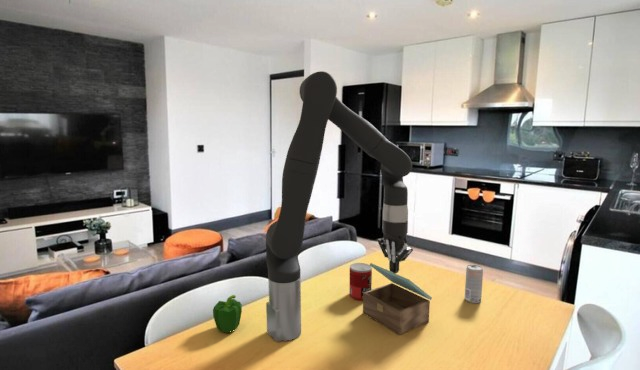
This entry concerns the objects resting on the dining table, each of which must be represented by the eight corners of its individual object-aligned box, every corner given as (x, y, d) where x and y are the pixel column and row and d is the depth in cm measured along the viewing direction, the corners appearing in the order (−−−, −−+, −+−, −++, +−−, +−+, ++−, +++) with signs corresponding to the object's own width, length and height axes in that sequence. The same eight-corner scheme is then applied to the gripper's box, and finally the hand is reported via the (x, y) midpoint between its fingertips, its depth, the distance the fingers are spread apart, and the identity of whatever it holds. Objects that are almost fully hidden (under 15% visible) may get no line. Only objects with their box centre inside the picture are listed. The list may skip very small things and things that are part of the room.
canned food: (364, 302, 127) (365, 272, 125) (345, 296, 131) (345, 267, 130) (375, 295, 133) (375, 265, 131) (356, 289, 138) (356, 261, 136)
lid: (408, 282, 106) (409, 279, 106) (369, 265, 119) (370, 262, 119) (430, 300, 113) (432, 297, 113) (392, 282, 126) (393, 279, 126)
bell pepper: (215, 339, 105) (214, 306, 104) (212, 325, 113) (211, 294, 111) (245, 332, 108) (244, 300, 107) (240, 319, 116) (239, 289, 114)
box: (398, 335, 107) (399, 312, 106) (362, 313, 120) (362, 292, 119) (428, 322, 114) (429, 300, 113) (391, 302, 127) (392, 283, 126)
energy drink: (478, 296, 131) (480, 264, 129) (483, 304, 126) (485, 270, 124) (462, 296, 131) (464, 264, 130) (467, 303, 126) (469, 269, 124)
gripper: (371, 215, 115) (370, 268, 117) (402, 224, 104) (401, 282, 107) (388, 212, 119) (387, 263, 122) (420, 220, 108) (419, 276, 111)
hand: (394, 272), depth 114 cm, fingers closed
